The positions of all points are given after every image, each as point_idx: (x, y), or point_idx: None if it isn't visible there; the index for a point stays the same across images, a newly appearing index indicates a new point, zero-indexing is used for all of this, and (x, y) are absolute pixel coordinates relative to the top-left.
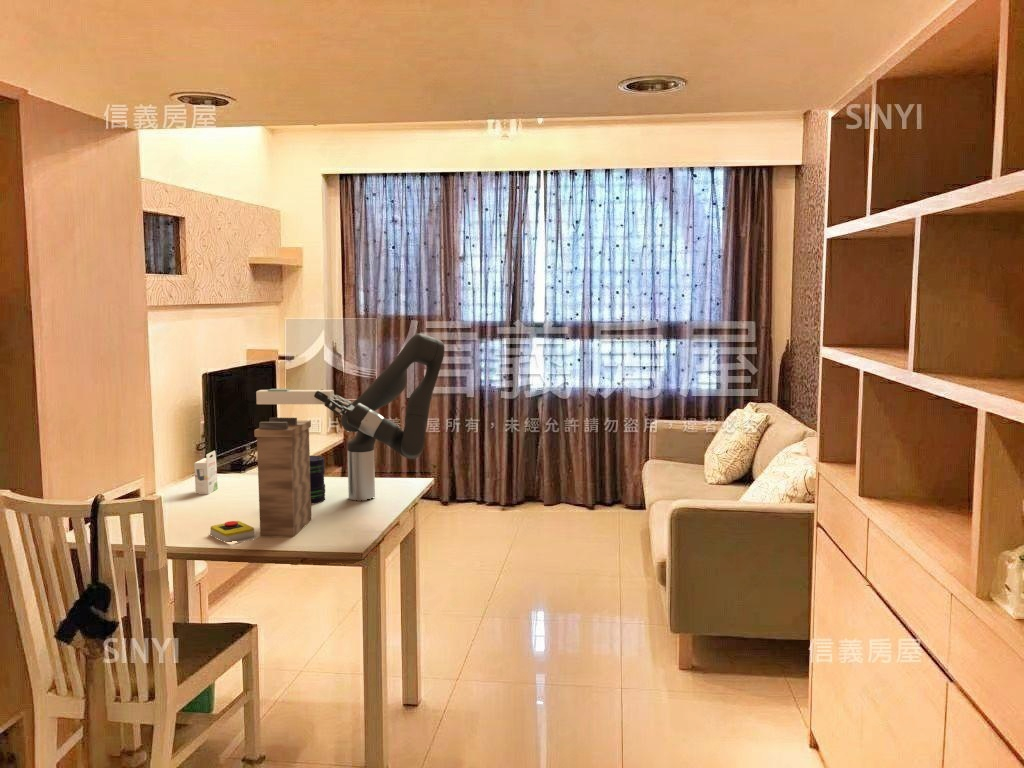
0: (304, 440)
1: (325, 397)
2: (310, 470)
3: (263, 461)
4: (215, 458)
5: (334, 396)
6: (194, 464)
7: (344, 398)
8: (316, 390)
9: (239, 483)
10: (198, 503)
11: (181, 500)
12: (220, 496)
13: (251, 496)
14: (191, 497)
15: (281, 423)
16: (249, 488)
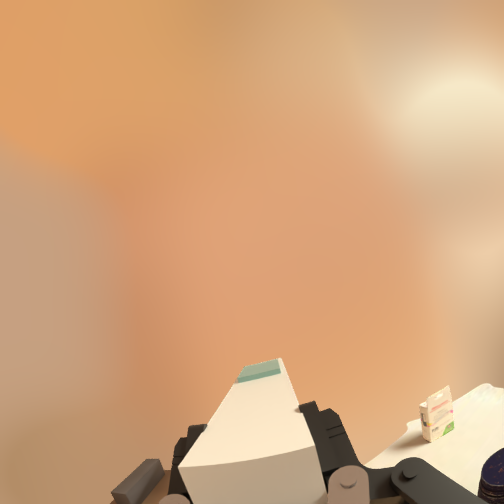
0: None
1: (168, 491)
2: (490, 500)
3: None
4: (449, 395)
5: (328, 498)
6: (419, 406)
7: (472, 498)
8: (265, 409)
9: (486, 415)
10: (392, 466)
11: (394, 449)
12: (432, 453)
13: (455, 468)
14: (410, 445)
15: (119, 487)
16: (480, 436)
